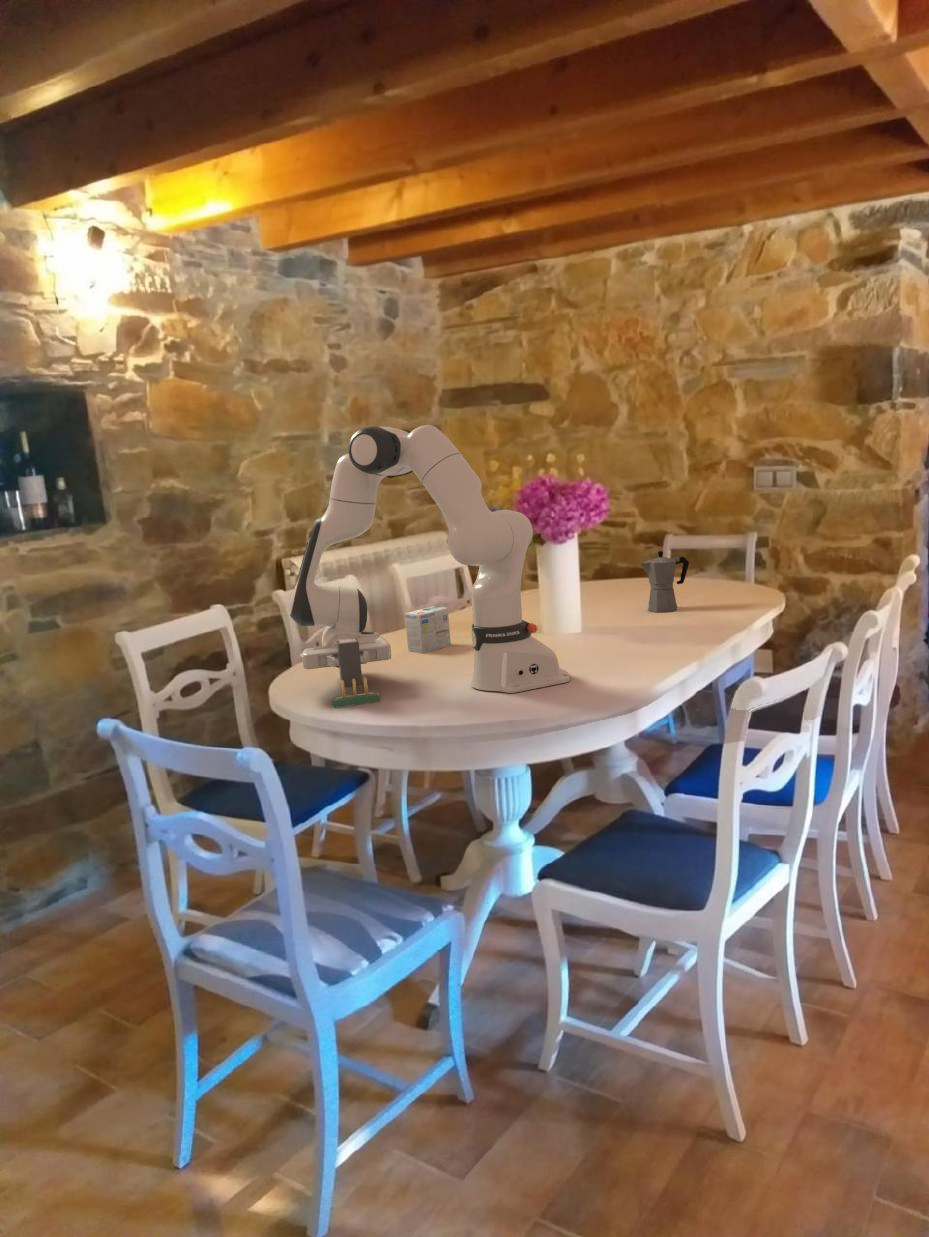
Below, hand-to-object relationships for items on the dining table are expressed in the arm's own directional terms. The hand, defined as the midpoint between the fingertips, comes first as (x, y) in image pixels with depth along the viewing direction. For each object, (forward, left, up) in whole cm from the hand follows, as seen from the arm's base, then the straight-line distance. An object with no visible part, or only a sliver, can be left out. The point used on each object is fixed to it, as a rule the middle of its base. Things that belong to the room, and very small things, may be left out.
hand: (349, 661), depth 207 cm
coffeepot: (-102, -56, -9) cm, 116 cm away
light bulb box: (-26, -43, -9) cm, 51 cm away
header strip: (0, +3, -9) cm, 9 cm away
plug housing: (0, -1, -5) cm, 6 cm away
